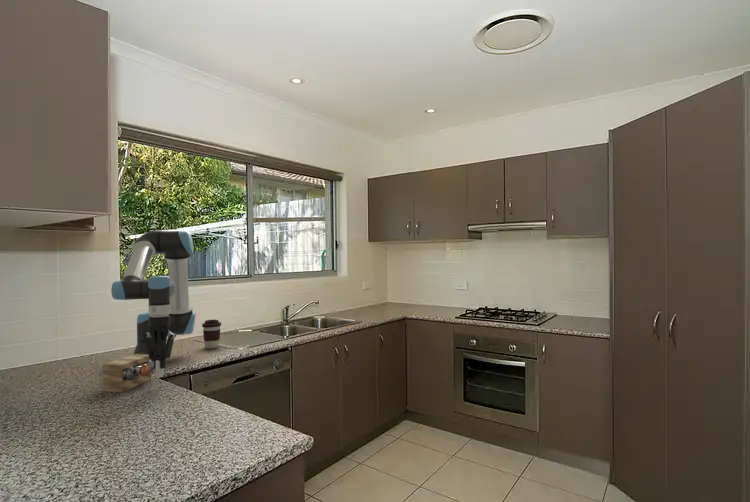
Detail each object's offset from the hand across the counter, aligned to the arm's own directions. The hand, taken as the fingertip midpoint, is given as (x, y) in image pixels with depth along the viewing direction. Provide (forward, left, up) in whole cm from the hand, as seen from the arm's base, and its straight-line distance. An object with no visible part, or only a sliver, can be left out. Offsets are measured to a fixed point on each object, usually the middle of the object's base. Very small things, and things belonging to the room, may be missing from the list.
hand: (159, 376), depth 162 cm
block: (0, -14, -4) cm, 14 cm away
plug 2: (-6, -15, 0) cm, 16 cm away
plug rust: (0, -13, 0) cm, 13 cm away
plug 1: (+5, -15, 0) cm, 15 cm away
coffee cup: (-68, -18, -4) cm, 71 cm away
